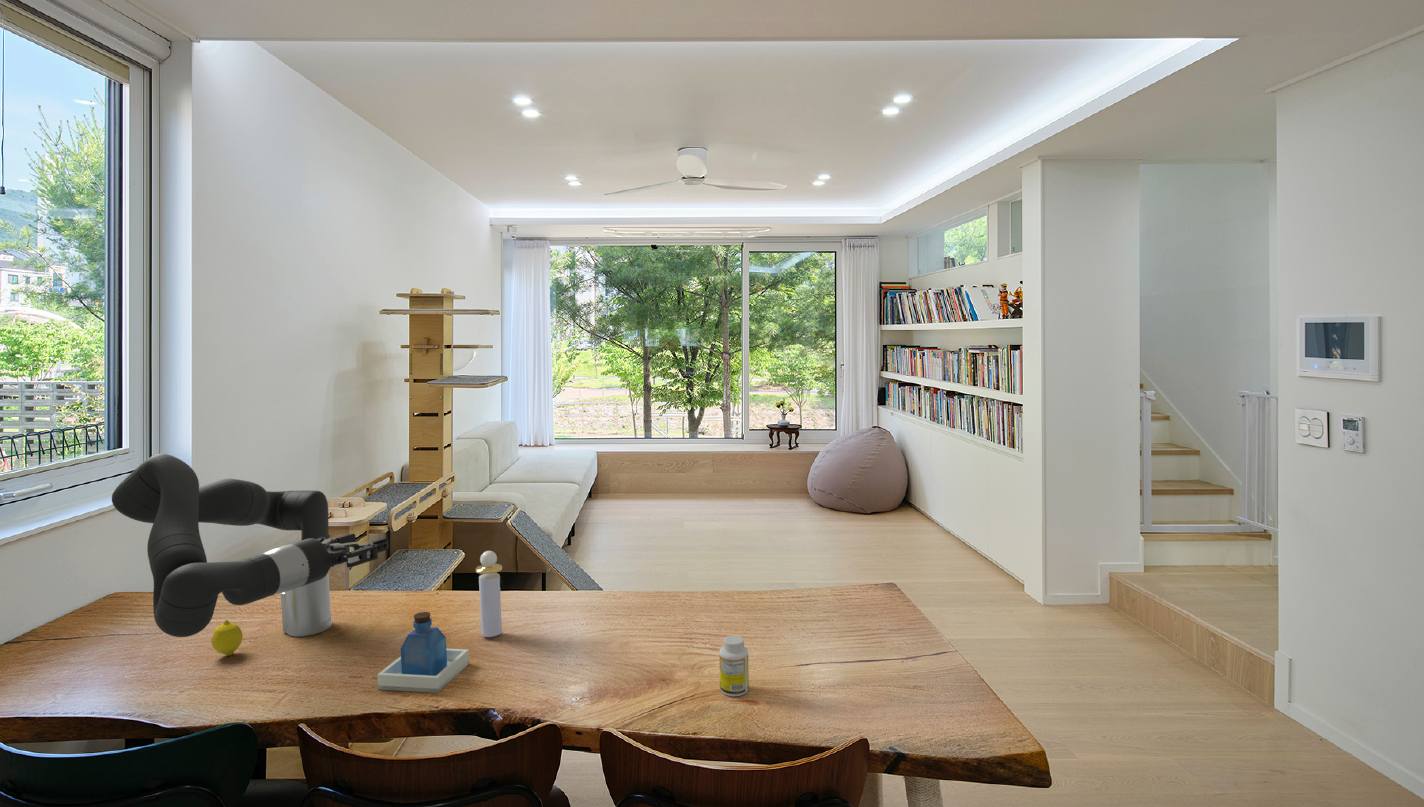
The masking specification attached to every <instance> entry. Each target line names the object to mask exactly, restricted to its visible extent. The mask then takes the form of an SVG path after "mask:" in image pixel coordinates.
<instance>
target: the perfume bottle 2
mask: <svg viewBox="0 0 1424 807" xmlns="http://www.w3.org/2000/svg"><path fill="white" fill-rule="evenodd" d="M479 561H480V564H481V565H478V566H477V567H476V568H475V573H477V574H479V576H478V586H479V588H478V589H479V590H478V591H479V608H480V610H479V611H480V633H481V636H482V637H486V638H493V637H496V636H499V635H501V634H502V632H503V626H502V625H503V623H502V598H501V595H502V594H501V589H502V591H503V590H504V581H503V579H502V576H500V573H498V572H501V571H502V570H503V565H502V564H500V563H497V561H498V556H497V554H496V552H494V551H492V550H486V551H484V552H482V554H481V555H480V558H479Z"/></svg>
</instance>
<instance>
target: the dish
mask: <svg viewBox="0 0 1424 807" xmlns="http://www.w3.org/2000/svg"><path fill="white" fill-rule="evenodd" d="M446 651H447V666H446V667H445V668H444V669H443V670H442V671H441V672H440V673H439V674H437V675H436V676H430V675H412V674H402V667H401V655H400V656H399V657H398V658H396V659H395V660H394V661H392V662H391V663H390V664H389V665H387V666H386V667H385V668H384V669H382V670H381V671H380V672H378V673H377V676H376V677H377V690H380V691H381V690H382V691H383V690H385V691H399V692H400V691H401V692H403V691H404V692H418V693H419V692H420V693H431V694H432V693H435V694H439V693H440V692H441V691H442V690H443V689H444V688H446V686H447V685H448V684H450V682H451V681H452V680H454V679H455V678H456V677H457V676H458V675H459V674H460V673H461V672H462V670H464V669H465V668H467V666H468V665H469V664H470V655H469V652H470V651H469V649H463V648H447V647H446Z"/></svg>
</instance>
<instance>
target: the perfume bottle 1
mask: <svg viewBox="0 0 1424 807" xmlns="http://www.w3.org/2000/svg"><path fill="white" fill-rule="evenodd" d="M413 619H414V620H413V623H412V624H413V625H412V626H413V630H412V631H411V632H409V633H408V634H407V635H406V638H405V639H404V641H403V643H402V645H401V647H400V656H401V667H402V674H412V675H430V676H436V675H437V674H439V673H440V672H441V671H442V670H443V669H444V668H445V667H446V666H447V651H446V648H447V637H446V635H445V634H444V633H443V632H442V631H441V629H439V627H438V626H437V627H436V626H432V624H433V620H432V618H431V612H429V611H421V612H417V613H415V614H414V615H413Z"/></svg>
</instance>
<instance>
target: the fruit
mask: <svg viewBox="0 0 1424 807" xmlns="http://www.w3.org/2000/svg"><path fill="white" fill-rule="evenodd" d="M242 641H243V631H242V629H241V628H240V626H239V625H238V624H237V623H235V622H234V623H233V622H230V621H229V620H227V619H226V620H224V621H223V623H221V624H220V625H218V626H217V627H216V628H214V630H213V633H212V636H211V645H212V647H213V649H214V651H216V652H217V653H219V654H223V655H225V656H232V655H233V654H234V653H235V651H236V650H238V648H239V647H240V646H241V644H242Z"/></svg>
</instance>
